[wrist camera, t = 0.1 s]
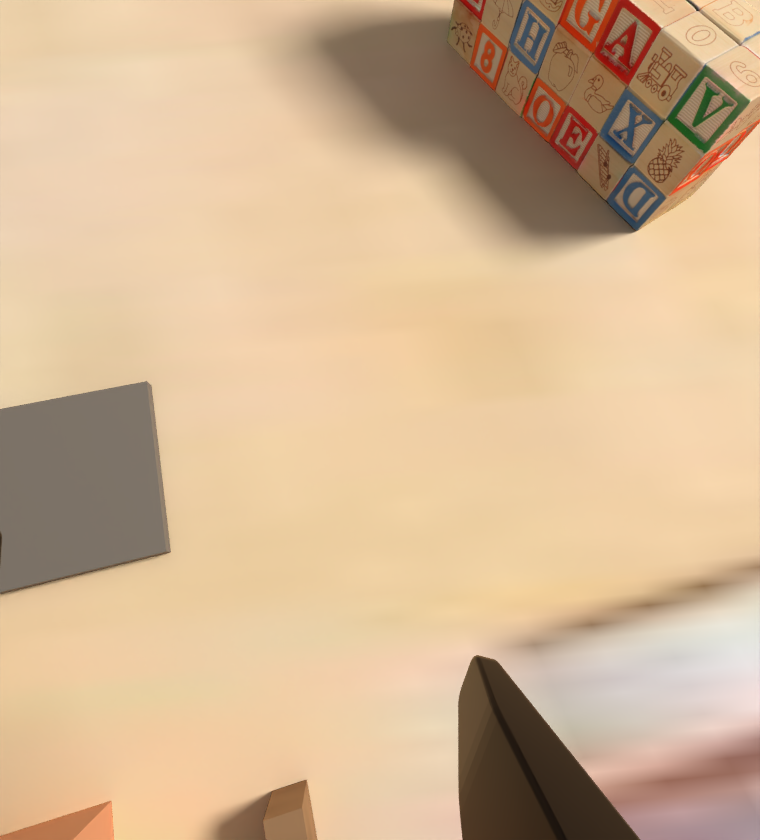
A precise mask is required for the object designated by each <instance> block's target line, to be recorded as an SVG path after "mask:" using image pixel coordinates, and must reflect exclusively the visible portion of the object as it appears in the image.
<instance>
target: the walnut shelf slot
mask: <svg viewBox="0 0 760 840" xmlns="http://www.w3.org/2000/svg"><path fill="white" fill-rule="evenodd" d="M263 825H264V831H265V838H266V840H317V836H316V830H315V825H314V819H313V813H312V807H311V802H310V796H309V790H308V785H307V780H304V781H301V782H298V783H295V784H292V785H289V786H286V787H283V788H280V789H277V790H274V791H272V794H271V797H270V800H269V803H268V807H267V810H266V813H265V816H264V819H263Z"/></svg>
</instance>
